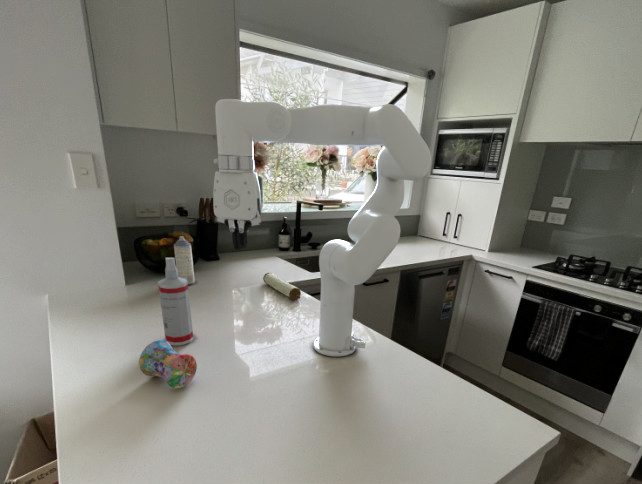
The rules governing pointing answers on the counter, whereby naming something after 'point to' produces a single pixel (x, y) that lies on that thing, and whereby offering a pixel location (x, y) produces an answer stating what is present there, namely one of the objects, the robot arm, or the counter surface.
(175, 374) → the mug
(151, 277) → the counter surface
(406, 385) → the counter surface
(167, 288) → the spray bottle
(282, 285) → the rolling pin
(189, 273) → the aerosol can
